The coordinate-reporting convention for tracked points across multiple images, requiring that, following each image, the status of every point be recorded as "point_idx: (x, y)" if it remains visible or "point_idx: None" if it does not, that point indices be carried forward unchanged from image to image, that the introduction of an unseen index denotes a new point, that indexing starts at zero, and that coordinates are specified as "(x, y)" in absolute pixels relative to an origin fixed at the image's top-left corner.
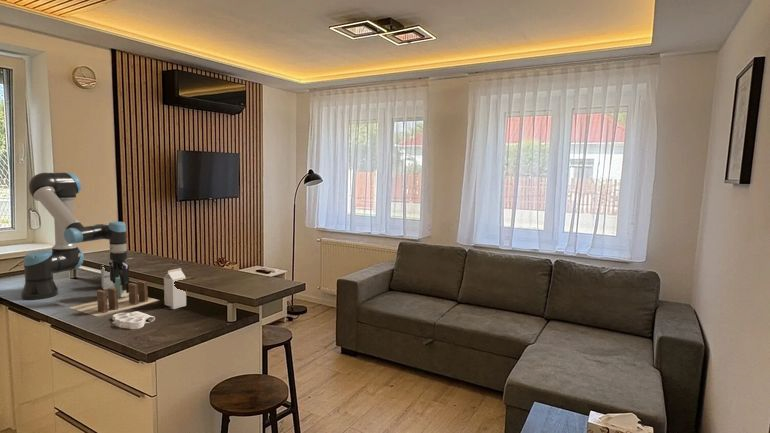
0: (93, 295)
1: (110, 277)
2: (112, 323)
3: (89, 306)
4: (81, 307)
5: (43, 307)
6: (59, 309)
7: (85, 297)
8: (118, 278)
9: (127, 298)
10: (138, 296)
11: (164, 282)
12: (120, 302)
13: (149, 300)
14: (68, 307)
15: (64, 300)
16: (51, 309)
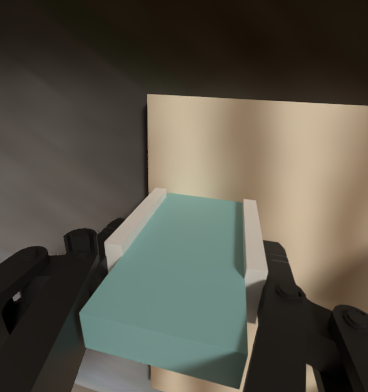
0: (11, 208)
1: (10, 329)
2: None
3: None
4: (202, 383)
5: None
6: (124, 375)
7: (24, 245)
8: (162, 365)
9: (290, 215)
10: (339, 138)
11: None
12: (325, 295)
13: None
14: (154, 387)
15: (16, 299)
16: (103, 377)
